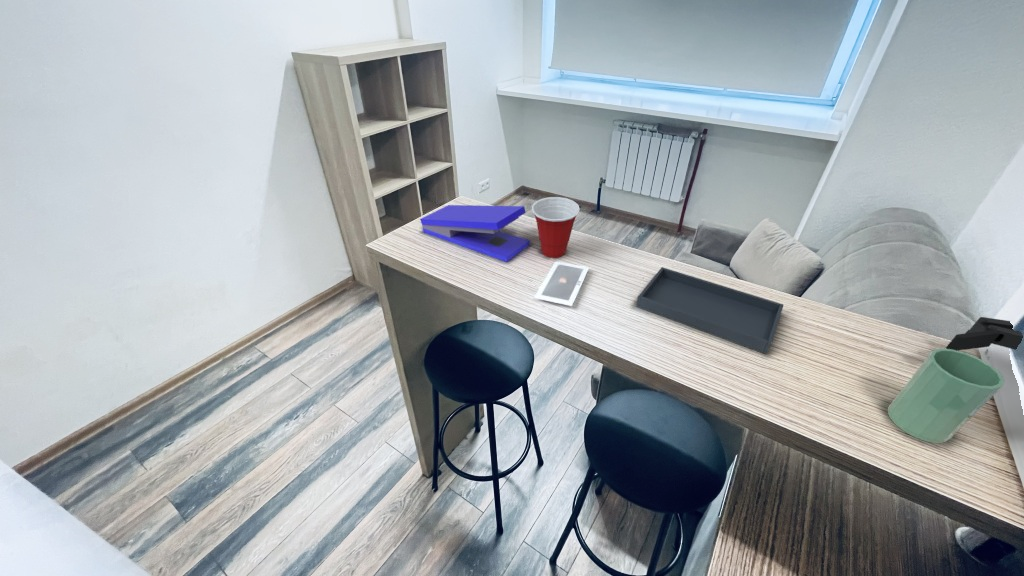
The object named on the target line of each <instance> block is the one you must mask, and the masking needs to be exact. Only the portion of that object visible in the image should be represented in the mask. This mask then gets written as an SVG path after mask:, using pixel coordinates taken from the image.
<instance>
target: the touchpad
mask: <svg viewBox="0 0 1024 576" xmlns="http://www.w3.org/2000/svg"><path fill="white" fill-rule="evenodd" d="M589 270H590V267H588V266H583V265H578V264H573V263H567V262H562V261H558V260H557V261H554V263H553V265H552V266H551V268H550V270H549V271H548V273H547V274H546V276H545V278H544V280H542V283H541V285H540V286H539V288H538V290H537V291H536V293H535V295H534V296H533V298H534V299H537V300H541V301H546V302H551V303H556V304H560V305H565V306H568V307H573V304H574V302H575V300H576V297H577V296H578V294H579V292H580V290H581V287H582V285H583V282H584V280H585V278H586V276H587V273H588V272H589Z"/></svg>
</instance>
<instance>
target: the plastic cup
mask: <svg viewBox="0 0 1024 576" xmlns="http://www.w3.org/2000/svg"><path fill="white" fill-rule="evenodd" d="M531 210H532V211H531V212H532V214H533V215H534V218H535V222H536V226H537V232H538V239H539V242H540V243H539V244H540V250H541V253H542V255H543V256H544V257H547V258H552V259H557V258H561V257H563V256H564V255H566V252H567V250H568V245H569V241H570V239H571V235H572V230H573V227H574V223H575V221H576V218H577V216H578V215H579V212H580V211H581V210H580V206H579V204H578V203H577V202H575V200H573V199H570V198H567V197H559V196H550V197H544V198H540V199H539V200H537V201H534V203H533V204H532V206H531Z"/></svg>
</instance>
